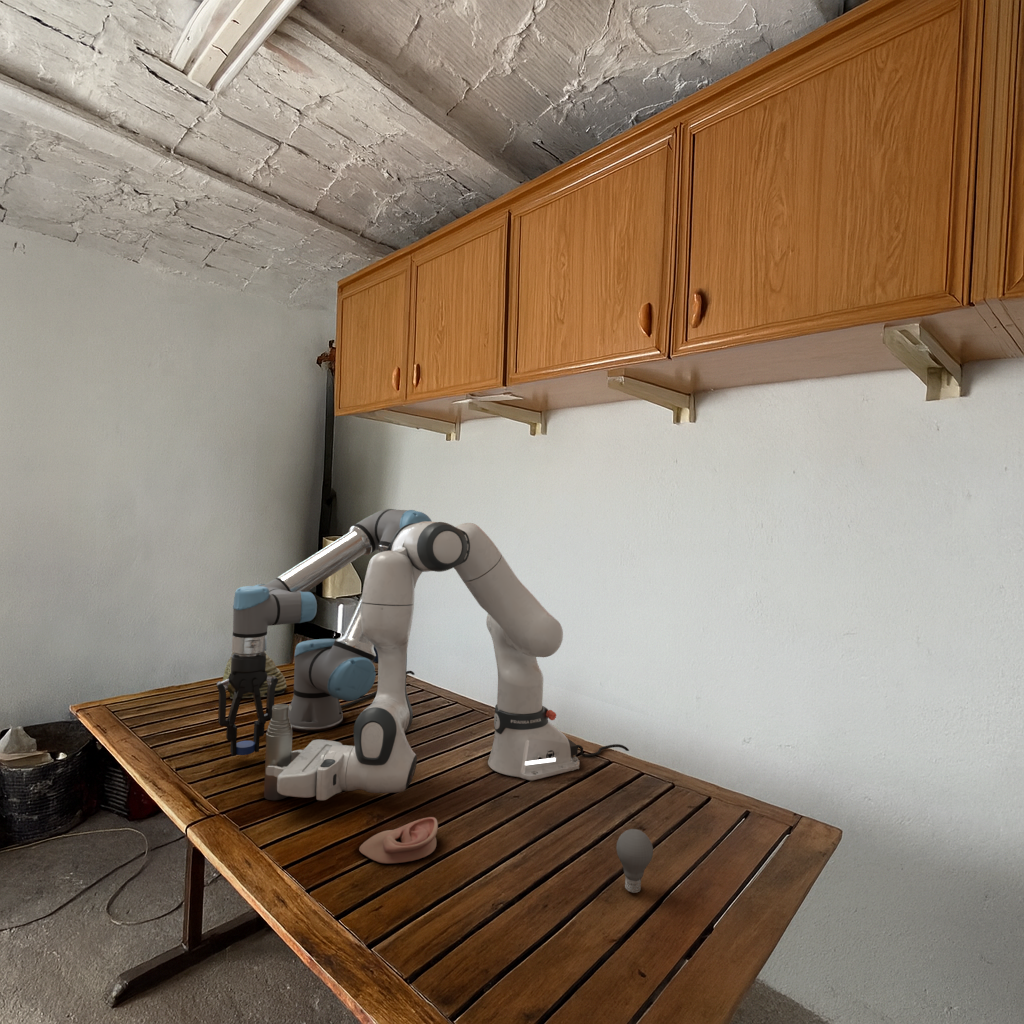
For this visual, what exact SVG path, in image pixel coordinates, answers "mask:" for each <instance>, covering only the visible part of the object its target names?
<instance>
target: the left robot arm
mask: <svg viewBox="0 0 1024 1024" xmlns="http://www.w3.org/2000/svg"><path fill="white" fill-rule="evenodd" d="M424 521H431V522H433V521H432V519H431V517H430V516H429V515H427V514H426V513H424V512H423V511H417V510H415V509H397V508H395V509H394V508H386V509H381V510H379V511H376V512H374V513H372V514H370V515H369V516H367V517H365V518H363V519H362V520H360V521H358V522H357V523H355V524H354V525H352V526H350V527H349V529H348V532H347V533H345V534H344V535H343V536H341V537H339V538H338V539H336V540H335V541H332V542H331V543H330V544H328V545H326V546H325V547H323V548H322V549H320V550H319V551H317V552H315V553H314V554H312V555H311V556H309V557H307V558H306V559H304V560H303V561H301V562H299V563H298V564H296V565H294V566H292V568H290V569H288V570H287V571H285V572H283V573H282V574H280V575H279V576H277V577H276V578H274V579H272V580H270V581H269V582H267V583H261V584H259V583H258V584H255V585H244V586H240V587H238V588H236V590H235V591H234V596H233V597H234V598H233V606H232V609H233V613H232V614H233V615H232V617H233V618H232V637H231V640H232V641H231V652H232V653H234V654H233V655H232V654H231V655H232V657H231V656H230V657H231V673H230V675H229V677H228V679H227V680H224V681H223V680H222V681H221V680H220V681H217V682H215V683H216V684H215V686H216V688H217V691H218V711H217V712H218V713H217V714H218V715H217V720H218V721H217V722H218V724H219V726H220V727H225V728H226V730H225V731H226V732H225V733H226V735H225V737H226V740H227V742H230V749H229V751H230V754H231V757H235V756H237V754H236V743H238V742H237V740H238V739H237V738H238V726H237V725H236V723H235V722H236V719H237V715H238V712H239V708H240V704H241V701H242V699H243V698H242V696H243V694H246V693H253V697H252V698H253V703H254V707H255V711H256V717H257V720H254V721H253V740H252V741H253V742H255V751H254V753H259V752H260V740H261V739H260V738H261V737H264V735H265V724H266V722H267V721H271V718H272V707H273V706H274V705H275V699H276V695H275V687H276V685H277V683H278V679H277V678H276V676H269V675H267V673H266V670H265V669H266V654H267V653H266V651H267V644H268V643H267V641H268V639H267V637H268V627H269V626H270V627H271V626H279V625H290V624H302V623H306V622H310V621H312V620H314V618H315V617H316V615H317V609H318V604H317V602H318V601H317V599H316V596H315V595H314V594H313V592H311V591H310V590H312V589H313V588H314V587H316V586H318V585H319V584H320V583H322V582H323V581H325V580H327V579H328V578H329V577H331V576H332V575H334V574H336V573H337V572H339V571H341V570H342V569H343V568H346V566H348V565H349V564H351V563H353V562H354V561H355V560H357V559H358V558H360V557H362V556H363V555H365V556H370V555H371V554H372V553H374V552H376V551H378V553H380V552H383V551H386V550H387V548H388V546H389V545H390V543H391V541H392V538H393V537H394V535H395V533H396V532H397V531H398V530H399V529H400V528H402V527H403V526H405V525H408V524H411V523H420V522H424ZM361 603H362V595H360V598H359V600H358V602H357V605H356V606H355V609H354V611H353V614H352V616H351V618H350V620H349V623H348V624H347V627H346V629H345V632H344V634H343V635H342V636H339V637H338V638H319V639H308V640H303V641H300V642H299V643H298V642H297V644H296V646H295V650H294V655H293V657H294V672H293V695H292V696H293V697H292V699H291V702H290V703H289V704H288V706H289V708H288V717H289V720H290V723H291V727H292V731H294V732H295V731H296V732H301V733H316V732H325V731H329V730H332V729H335V728H337V727H339V726H340V725H342V723H343V722H344V714H343V709H345V708H347V707H348V708H349V707H350V706H353V705H356V704H359V703H361V702H364V701H366V700H368V699H370V698H373V697H374V696H376V694H377V690H376V691H374V692H372V693H370V694H368V695H367V693H369V692H370V691H371V689H372V688H373V686H374V684H375V682H376V677H377V671H376V666H375V664H374V662H375V659H376V657H377V654H376V651H375V646H374V645H373V644H372V643H371V642H370V641H369V640H368V639H367V638H366V637H365V635H364V634H363V631H362V623H361ZM264 652H265V653H266V654H265V653H264ZM409 674H411V675H412V676H414V675H416V674H415V672H414V671H412V670H406V675H409ZM265 680H267V682H266V683H267V684H268V688H267V696H266V702H265V703H266V705H265V712H264V706H263V701H262V697H261V696H260V689H259V688H260V687H261V686H262V684H263V683H264V682H265ZM229 684H231V685H232V686H233V688H234V689H235V691H234V697H233V698H232V701H231V704H230V708H229V712H228V715H227V691H228V690H227V689H228V685H229ZM340 700H342V701H345V702H347V703H344V704H341V702H340Z"/></svg>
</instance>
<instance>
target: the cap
mask: <svg viewBox="0 0 1024 1024" xmlns="http://www.w3.org/2000/svg"><path fill="white" fill-rule="evenodd" d="M253 741H254V740H241V741H238V742H237V743H236V756H237V755H238V756H248V755H252V754H254V753H255V742H253Z"/></svg>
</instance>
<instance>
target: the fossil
mask: <svg viewBox="0 0 1024 1024" xmlns="http://www.w3.org/2000/svg"><path fill="white" fill-rule="evenodd" d="M264 653H265V654H266V669H265V670H266V673H267V675H269V676H276V678H277V679H278V683H277V685H276V687H275V696H276V695H281V694H284V693H285V691H286V689H287V687H288V686H287V680H286V678H285V676H284V674H283V673H282V672H281V669H279V668H278V667H277V665H276V663H275V662H274V660H273V659H272V658H271V657H270V656H269V655H268V654H267V653H266V651H265V652H264ZM233 654H234V653H233V652H232V653H231V656H230V657H229V659H228V660H227V663H226V666H225V668H224V671H223V675H222V676H223V677H222V681H224V680H227V679H228V677H229V675H230V673H231V657H232V655H233ZM266 682H267V680H265V682H264V683H263V684H262V686H261V687H260V688H259V689H260V696H261V698H264V697H267V688H268V684H267V683H266ZM226 691H228V693H229V698H230V699H233V697H234V691H235V689H234V688H233V686H232V685H231V684H229V685H228V689H227V690H226ZM250 698H254V697H253V693H246V694H243V696H242V699H250Z"/></svg>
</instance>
